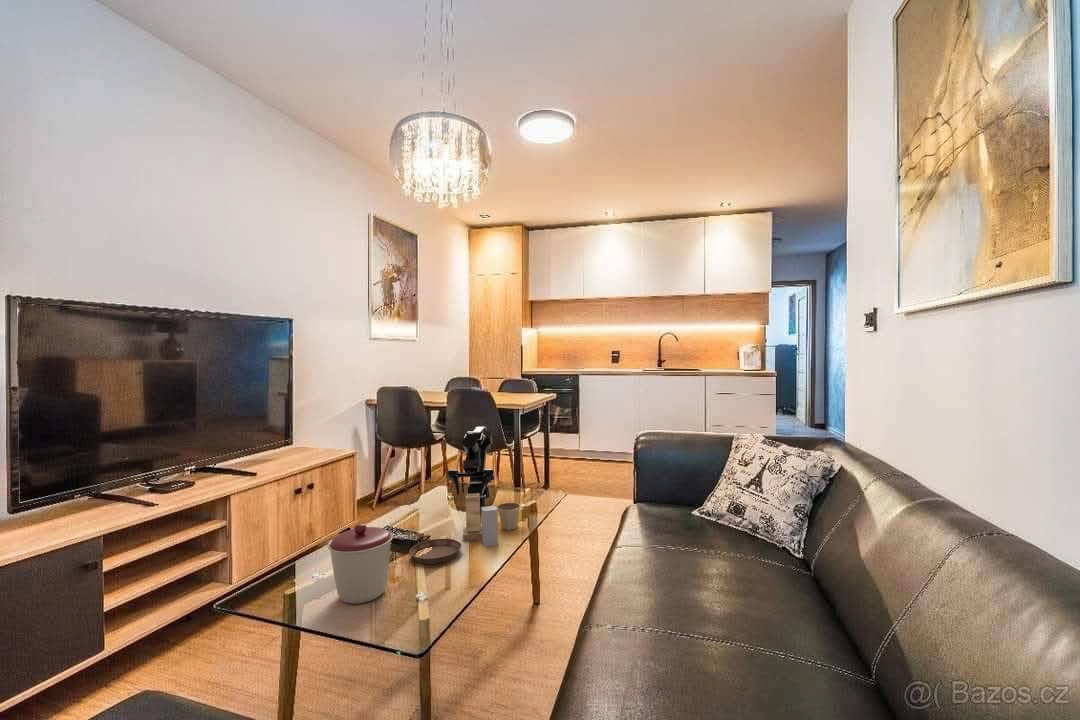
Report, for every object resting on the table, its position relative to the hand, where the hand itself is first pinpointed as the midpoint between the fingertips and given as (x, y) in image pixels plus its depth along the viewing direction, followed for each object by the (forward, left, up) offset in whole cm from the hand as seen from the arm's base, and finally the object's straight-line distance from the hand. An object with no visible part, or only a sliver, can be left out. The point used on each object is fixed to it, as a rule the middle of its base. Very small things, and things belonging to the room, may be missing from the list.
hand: (469, 495), depth 196 cm
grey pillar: (+17, +7, -14) cm, 23 cm away
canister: (+49, -31, -14) cm, 59 cm away
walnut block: (+9, +1, -14) cm, 17 cm away
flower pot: (+2, +15, -14) cm, 21 cm away
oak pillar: (+8, +1, -11) cm, 14 cm away
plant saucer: (+24, -12, -14) cm, 30 cm away
